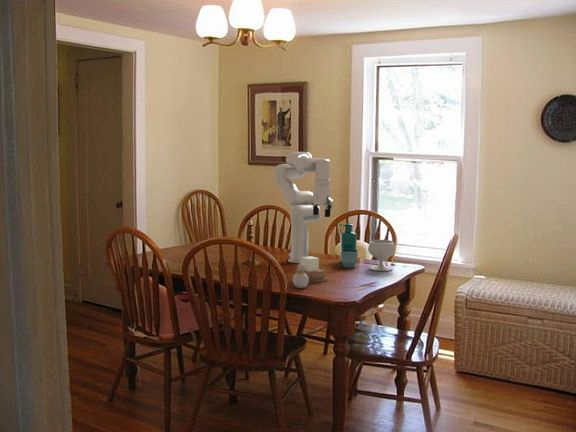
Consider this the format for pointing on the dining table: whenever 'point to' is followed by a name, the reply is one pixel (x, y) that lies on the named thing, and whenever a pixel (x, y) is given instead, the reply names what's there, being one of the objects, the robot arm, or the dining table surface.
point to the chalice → (381, 252)
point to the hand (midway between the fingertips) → (321, 215)
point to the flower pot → (349, 257)
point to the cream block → (310, 263)
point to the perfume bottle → (300, 277)
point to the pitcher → (348, 238)
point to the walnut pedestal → (314, 276)
